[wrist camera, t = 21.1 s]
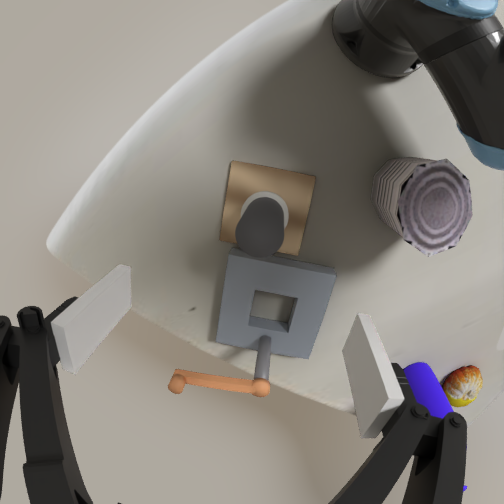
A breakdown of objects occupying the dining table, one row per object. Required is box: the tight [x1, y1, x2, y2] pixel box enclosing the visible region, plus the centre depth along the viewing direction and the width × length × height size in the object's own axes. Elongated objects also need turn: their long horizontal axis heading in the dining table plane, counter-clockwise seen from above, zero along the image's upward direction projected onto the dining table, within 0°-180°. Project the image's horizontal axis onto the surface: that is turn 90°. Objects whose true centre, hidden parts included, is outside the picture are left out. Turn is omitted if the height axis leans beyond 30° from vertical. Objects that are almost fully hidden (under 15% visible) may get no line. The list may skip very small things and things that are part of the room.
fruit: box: [442, 365, 482, 407], centre depth 49 cm, size 11×10×8 cm
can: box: [371, 157, 472, 257], centre depth 34 cm, size 11×11×12 cm
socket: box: [216, 248, 337, 380], centre depth 42 cm, size 16×16×13 cm
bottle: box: [404, 362, 467, 491], centre depth 37 cm, size 8×8×30 cm
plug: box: [235, 191, 289, 258], centre depth 36 cm, size 6×6×13 cm
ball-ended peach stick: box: [168, 369, 270, 397], centre depth 36 cm, size 13×3×3 cm, turn 86°
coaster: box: [220, 161, 316, 256], centre depth 43 cm, size 12×12×1 cm
